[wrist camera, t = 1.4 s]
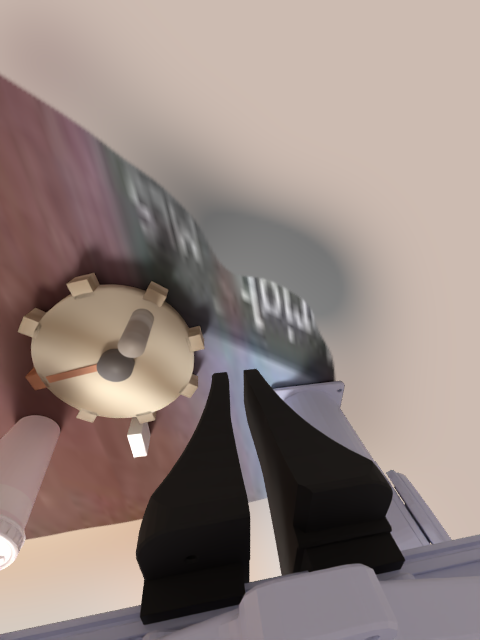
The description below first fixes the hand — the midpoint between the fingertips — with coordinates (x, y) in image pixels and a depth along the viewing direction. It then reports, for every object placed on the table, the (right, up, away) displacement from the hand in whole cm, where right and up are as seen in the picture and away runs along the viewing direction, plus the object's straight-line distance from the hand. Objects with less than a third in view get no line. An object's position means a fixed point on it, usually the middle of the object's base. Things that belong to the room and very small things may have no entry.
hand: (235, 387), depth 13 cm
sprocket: (-10, +1, +10) cm, 14 cm away
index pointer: (-10, -7, +14) cm, 18 cm away
